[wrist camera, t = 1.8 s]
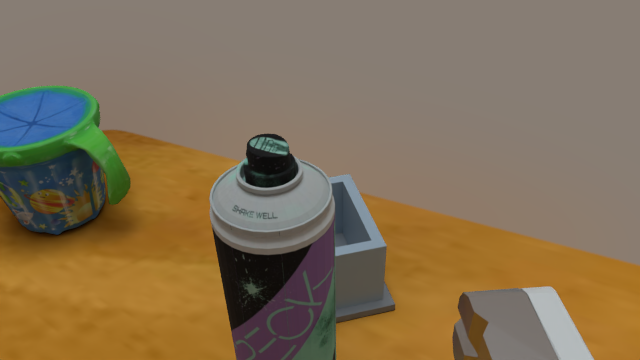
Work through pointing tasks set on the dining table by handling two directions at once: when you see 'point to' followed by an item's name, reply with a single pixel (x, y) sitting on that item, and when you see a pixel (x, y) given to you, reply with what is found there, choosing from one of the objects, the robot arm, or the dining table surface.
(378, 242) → the collar stand
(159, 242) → the dining table surface
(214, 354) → the dining table surface
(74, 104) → the snack cup
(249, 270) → the spray can
